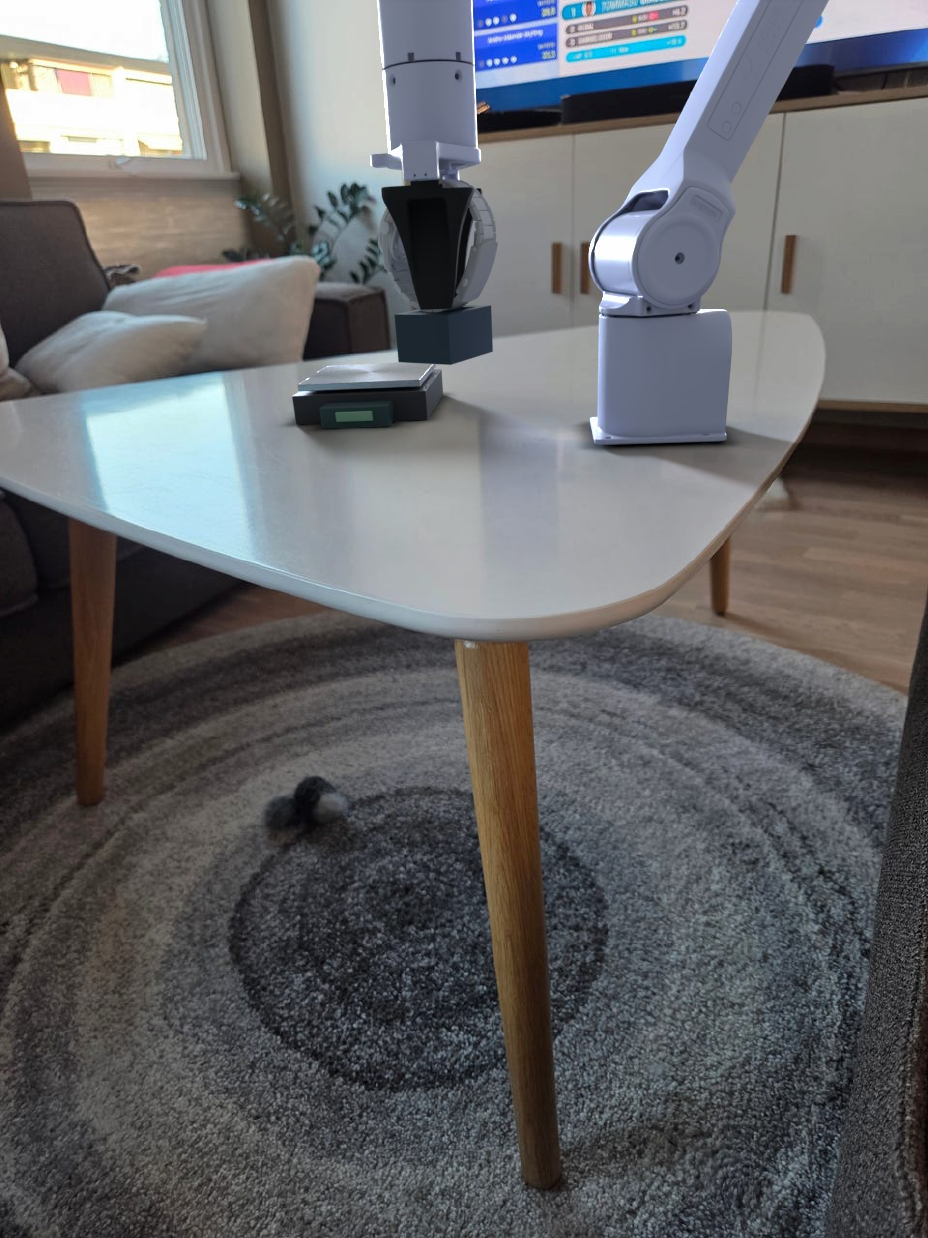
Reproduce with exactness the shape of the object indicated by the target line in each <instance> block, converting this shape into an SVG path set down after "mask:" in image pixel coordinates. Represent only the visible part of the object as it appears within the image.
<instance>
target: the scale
mask: <svg viewBox="0 0 928 1238" xmlns="http://www.w3.org/2000/svg"><path fill="white" fill-rule="evenodd" d="M443 384H444V383H443V370H442V368H438V369H435V368H434V370H433V371H432V372H431V373H430V375H429V376H428V377H427V379H426V380H425V381H424V382H423V384H422V385H421V386H420V387H396V388H372V389H347V390H322V391H297V392H296V393H295V394H293V395H292V396H291V399H292V407H293V413H294V421H295V425H315V424H321V429H323V430H331V429H332V430H333V429H359V428H360V429H361V428H386V427H387V428H388V427H391V425H392V424H393V423H394V422H401V421H402V422H404V421H427V420H429V418H430V417H431V415H432V413H433V412H434V410H435V409H436V407H437V406H438V403H439V402H440V400H441V399H442V398H443V395H444V387H443Z"/></svg>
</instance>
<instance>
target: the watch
mask: <svg viewBox="0 0 928 1238" xmlns="http://www.w3.org/2000/svg"><path fill="white" fill-rule="evenodd" d="M442 180H443V184H444V185H446V186H447V188H456V187H472V188H474V189H475V192H474V194H473V196H472V199H471V202H470V204H469V207H468V208H470V212H471V215H472V217H473V220H474V221H473V222H474V228H475V230H474V232H473V243H472V244H473V245H471V246H470V249H469V254H468V257H467V261H466V267H465V272H464V274H463V277H462V279H461V281H460V283H459V285H458V287H457V289H456V293H457V294H458V295H457V296H456V297H455V298H454V301H453V305H452V308H451V309H431V310H421V309H420V307H419V304H418V301H417V298H416V294H415V291H414V287H413V283H412V278H411V274H410V270H409V266H408V262H407V258H406V254H405V250H404V247H403V244H402V241H401V238H400V235H399V233H398V230H397V228H396V225H395V223H394V221H393V219H392V217H391V215H390V213H389V211H388V209H387V207H386V208H385V210H384V212H383V214H382V217H381V218H380V222H379V224H378V225H379V226H378V230H377V246H378V249H379V250H380V252H381V253H382V260H383V267H384V270H385V271H386V272H387V274H388V277H389V279H390V281H391V283H392V285H393V287H394V288H395V290H396V292H397V293H398V294H399V295H400V297H401V298H402V299H403V300H404V301H405V302H406V303H407V304H409V306H411V307H413V308H415V309H413V310H408V311H404V312H400V313H395V314H394V326H395V336H396V350H397V361H398V362H403V363H423V364H436V365H447V366H451V365H456V364H458V363H461V362H464V361H465V362H466V361H467V360H471V359H474V358H479V357H481V356H484V355H487V354H490V353H493V352H494V346H493V345H494V344H493V319H492V318H493V317H492V305H491V304H469V303H470V302H473V301H475V300H477V299H478V298H479V297H480V295H482V293H483V290H484V289H485V286H486V284H487V282H488V280H489V277H490V275H491V272H492V270H493V266H494V264H495V260H496V255H497V251H498V245H499V242H498V241H497V233H496V232H497V227H496V220H495V217H494V214H493V211H492V209H491V207H490V205H489V203H488V201H487V199H486V198H485V197H484V196H482V195H483V193H482V194H480V192H479V191H478V190H477V189H476V187H475V186H473V185H472V184H470V183H468V182H467V181H464V180H462V179H459V180H457V179H442ZM398 362H397V363H398Z"/></svg>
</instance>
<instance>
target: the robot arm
mask: <svg viewBox="0 0 928 1238" xmlns="http://www.w3.org/2000/svg"><path fill="white" fill-rule="evenodd" d="M829 1H830V0H737V1H736V3H735V5H734V7H733V9H732V11H731V13H730V15H729V17H728V19H727V21H726V23H725V25H724V27H723V28H722V31H721V33H720V35H719V37H718V39H717V41H716V43H715V45H714V47H713V49H712V51H711V53H710V55H709V57H708V60H706V63H705V65H704V67H703V69H702V71H701V72H700V75H699V77H698V78H697V81H696V83H695V85H694V86H693V89H692V91H691V92H690V94H689V97H688V99H687V101H686V102H685V104H684V106H683V108H682V111H681V113H680V115H679V116H678V118H677V121H676V123H675V125H674V127H673V129H672V131H671V133H670V134H669V136H668V139H667V141H666V143H665V144H664V146H663V148H662V150H661V152H660V154H659V156H658V157H657V158H656V159H655V160H654V162H653V163H652V164H651V165H650V166H649V167H648V168H647V169H646V170H645V172H644V173H642V175H641V176H640V177H639V178H638V179H637V180H636V182H635V183H634V184H633V186H632V187H631V189H630V191H629V193H628V195H627V197H626V199H625V200H624V202H623V203H622V205H621V206H620V208H618V210H617V211H616V212H614V213H613V214H611V216H609V217H608V218H606V219H605V220H604V221H603V222H602V223H601V224H600V226H599V227H598V228H597V230H596V232H595V233H594V236H593V238H592V239H591V243H590V246H589V251H588V268H589V272H590V275H591V278H592V281H593V282H594V284H595V285H596V287H597V289H598V290H600V292H601V293H602V299H601V301H600V303H599V305H598V312H599V314H598V349H597V351H598V353H597V355H598V359H597V361H598V362H597V414H596V416H591V417H590V418H589V426H590V429H591V434H592V439H593V443H594V444H595V445H598V446H610V445H611V446H612V445H613V446H614V445H615V446H616V445H640V444H642V445H646V444H675V443H705V442H709V443H710V442H724V441H727V437H728V434H727V433H726V427H727V415H728V405H729V404H728V403H729V391H730V379H731V368H732V367H731V366H732V355H733V352H732V351H733V328H732V319H731V315H730V313H729V311H728V310H726V309H721V308H720V309H719V308H718V309H717V308H716V309H715V308H714V309H701V308H702V297H703V296H704V295H705V294H706V293H707V292H708V291H709V289H710V288H711V287H712V285H713V283H714V282H715V280H716V278H717V275H718V273H719V271H720V266H721V263H722V254H723V253H722V252H723V245H724V240H725V237H726V234H727V231H728V229H729V227H730V225H731V223H732V221H733V220H734V217H735V215H736V212H737V210H736V208H737V207H736V204H735V199H734V195H733V189H732V184H733V181H734V179H735V178H736V175H737V173H738V172H739V170H740V168H741V166H742V164H743V163H744V160H745V159H746V157H747V155H748V153H749V151H750V149H751V147H752V146H753V144H754V142H755V140H756V138H757V136H758V134H759V132H760V131H761V129H762V127H763V124H764V123H765V121H766V119H767V118H768V117H769V114H770V112H771V110H772V108H773V106H774V104H775V102H776V100H777V99H778V97H779V95H780V93H781V91H782V89H783V88H784V85H785V84H786V82H787V80H788V78H789V77H790V75H791V73H792V71H793V69H794V67H795V65H796V63H797V61H798V59H799V57H800V56H801V54H802V51H803V50H804V49H805V46H806V44H807V43H808V40H809V39H810V37H811V35H812V33H813V32H814V29H815V27H816V25H817V24H818V22H819V21H820V18H821V17H822V14H823V12H824V10H825V9H826V7H827V5H828V3H829ZM376 2H377V3H376V4H377V18H378V27H379V28H378V31H379V43H380V57H381V70H382V80H383V81H382V82H383V93H384V94H383V95H384V108H385V121H386V122H385V123H386V135H387V137H386V138H387V148H388V152H384V153H373V154H370V157H369V158H370V166H371V167H372V168H375V169H385V168H386V169H389V170H396V171H402V179H403V181H405V182H409V184H408V185H393V186H392V185H391V186H382V187H380V196H381V199H382V203H383V204H384V206H385V207H386V208H387V209H388V211H389V213H390V215H391V217H392V219H393V221H394V223H395V225H396V228H397V230H398V233H399V235H400V238H401V241H402V244H403V247H404V250H405V254H406V258H407V262H408V266H409V270H410V274H411V278H412V283H413V287H414V291H415V294H416V298H417V301H418V304H419V307H420V309H421V310H431V309H451V308H452V305H453V301H454V298H455V297H456V296H457V295H458V294H457V293H456V289H457V287H458V285H459V283H460V281H461V279H462V277H463V274H464V272H465V269H466V266H467V259H468V249H469V241H470V237H471V232H472V228H473V224H474V222H475V221H474V220H473V217H472V215H471V212H470V208H468V207H469V204H470V202H471V199H472V196H473V194H474V192H475V189H474V188H472V187H456V188H447V186H446V185H444V184H443V180H442V179H457V180H460V171H461V170H465V169H467V168H471V167H474V166H477V165H480V164H481V163H482V152H481V149H480V148H479V147H478V121H477V95H476V93H477V92H476V69H475V67H476V66H475V43H474V17H473V16H474V15H473V14H474V13H473V0H376ZM475 188H476V187H475ZM476 189H477V190H478V191H479V192H480V194H482V196H483V189H482V188H481V187H477V188H476ZM483 197H484V196H483Z"/></svg>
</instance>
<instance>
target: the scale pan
mask: <svg viewBox="0 0 928 1238" xmlns="http://www.w3.org/2000/svg"><path fill="white" fill-rule="evenodd" d="M436 365H437V364H423V363H403V362H378V363H355V364H354V363H353V364H332V365H326V366H325V367H323V368H321V369H320V370H318V371H316V373H314V374H312V375H311V376H309V377H308V378H306V379H304V380H303V381H301V382H300V383H298V384H297V390H298V391H297V392H299V391H322V390H347V389H372V388H396V387H420V386H421V385H422V384H423V382H424V381H425V380H426V379H427V377H428V376H429V375H430V373H431V372H432V371H433V370H435V368H436V367H437V366H436Z"/></svg>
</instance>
